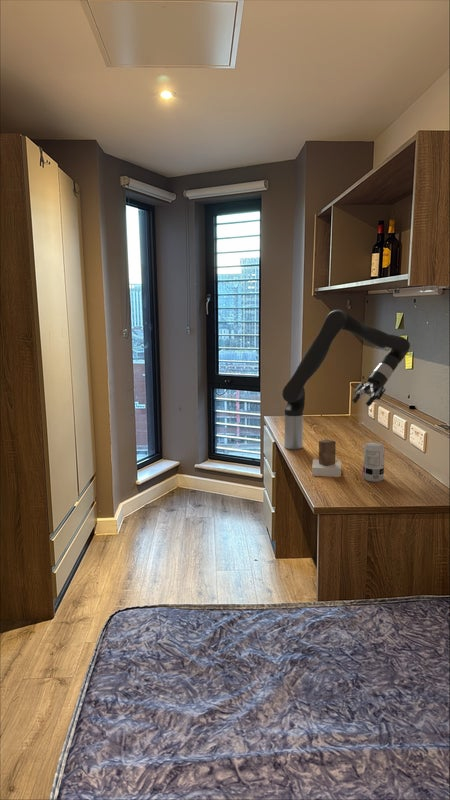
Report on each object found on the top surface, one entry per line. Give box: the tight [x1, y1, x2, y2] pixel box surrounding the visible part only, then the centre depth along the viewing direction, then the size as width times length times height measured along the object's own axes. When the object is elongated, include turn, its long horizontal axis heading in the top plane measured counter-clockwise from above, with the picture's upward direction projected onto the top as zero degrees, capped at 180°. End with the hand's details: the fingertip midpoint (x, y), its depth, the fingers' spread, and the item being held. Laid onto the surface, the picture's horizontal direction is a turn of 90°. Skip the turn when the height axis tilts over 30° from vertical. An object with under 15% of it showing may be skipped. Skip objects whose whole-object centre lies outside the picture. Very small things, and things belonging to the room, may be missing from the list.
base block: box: [311, 458, 342, 478], centre depth 219 cm, size 12×12×4 cm
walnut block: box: [318, 438, 337, 466], centre depth 218 cm, size 5×5×10 cm
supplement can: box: [362, 441, 386, 483], centre depth 207 cm, size 8×8×15 cm
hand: (360, 403), depth 221 cm, fingers open, 8 cm apart
